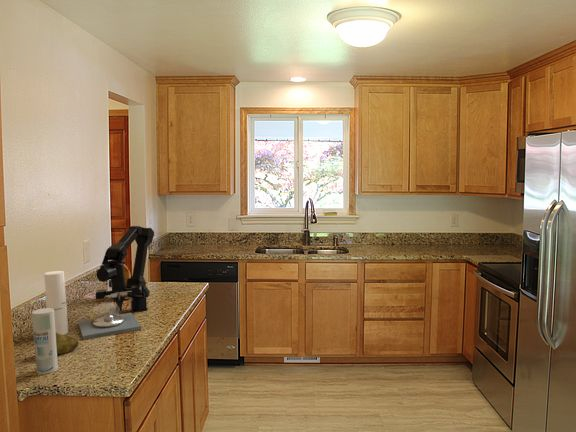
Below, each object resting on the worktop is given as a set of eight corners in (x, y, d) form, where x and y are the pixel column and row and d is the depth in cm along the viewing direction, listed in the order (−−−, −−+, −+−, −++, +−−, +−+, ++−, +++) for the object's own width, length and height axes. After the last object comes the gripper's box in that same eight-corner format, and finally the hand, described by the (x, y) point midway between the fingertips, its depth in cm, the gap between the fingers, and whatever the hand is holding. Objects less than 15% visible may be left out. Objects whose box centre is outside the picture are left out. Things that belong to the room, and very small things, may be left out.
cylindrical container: (72, 331, 197) (67, 271, 194) (58, 336, 190) (54, 275, 188) (58, 329, 199) (54, 270, 197) (44, 335, 192) (40, 274, 190)
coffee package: (134, 294, 254) (132, 253, 252) (132, 300, 242) (129, 257, 240) (114, 295, 252) (112, 254, 250) (111, 301, 240) (108, 258, 238)
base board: (131, 315, 215) (130, 302, 215) (141, 329, 196) (140, 315, 195) (78, 324, 205) (77, 310, 205) (83, 339, 186) (82, 324, 185)
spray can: (61, 365, 161) (57, 307, 159) (52, 373, 155) (48, 313, 153) (42, 366, 161) (37, 308, 159) (32, 374, 154) (27, 314, 153)
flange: (118, 314, 212) (117, 304, 211) (128, 323, 199) (127, 312, 199) (88, 319, 205) (88, 309, 204) (97, 329, 192) (96, 318, 192)
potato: (75, 355, 170) (74, 333, 170) (36, 359, 167) (34, 337, 167) (79, 346, 178) (78, 325, 178) (42, 350, 175) (40, 329, 175)
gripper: (140, 270, 217) (143, 303, 219) (96, 275, 212) (100, 309, 214) (139, 274, 207) (143, 310, 208) (93, 280, 202) (97, 316, 203)
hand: (120, 311), depth 209 cm, fingers closed
